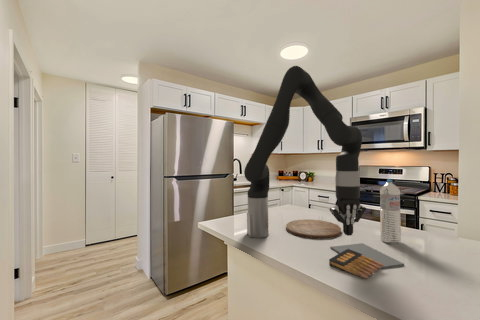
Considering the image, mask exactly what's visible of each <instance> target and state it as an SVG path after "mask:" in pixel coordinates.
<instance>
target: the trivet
mask: <svg viewBox="0 0 480 320" xmlns="http://www.w3.org/2000/svg"><path fill="white" fill-rule="evenodd" d="M285 229H286V231H287V232H288V234H289V233H290V234H291V235H294V236H297V237H300V238H301V237H302V238H306V239H313V240H314V239H315V240H324V239H329V240H330V239H332V238H337V237H339V236H340V235H341V234H342V228H341V226H339V225H338V224H336V223H333V222H330V221H327V220H320V219H319V220H318V219H310V218H309V219H308V218H307V219H297V220H296V219H295V220H292V221H291V220H290V221H289V222H287V223H285Z"/></svg>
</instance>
